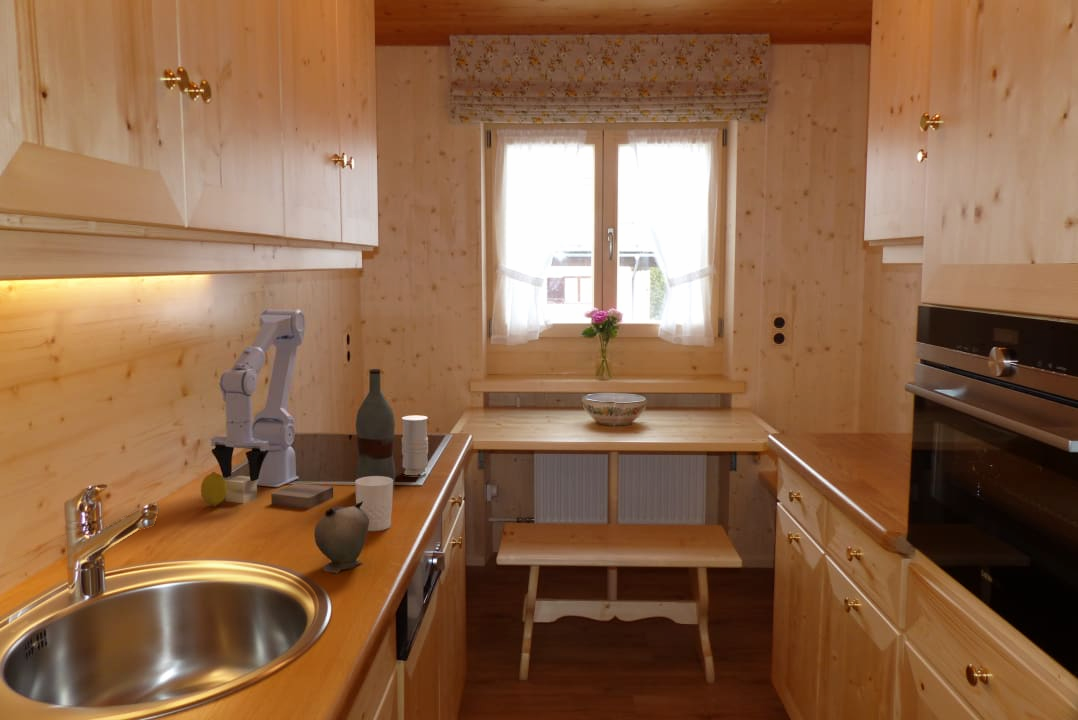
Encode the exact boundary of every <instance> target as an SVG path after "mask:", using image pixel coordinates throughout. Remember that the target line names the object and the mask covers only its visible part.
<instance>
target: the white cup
mask: <svg viewBox="0 0 1078 720" xmlns="http://www.w3.org/2000/svg"><path fill="white" fill-rule="evenodd" d="M354 486H355V487H354V488H355V490H354V491H355V503H356V504H355V505H357V503H361V502H362V501H363V503H362V505H361V506H360V509H361V510H362V511H363V512H364V513H365V514H366V515H367V517H368V518H369V519H370V520H369V526H368V531H367V532H380V531H384V530H387V529H389V528H390V527H391V525H392V512H393V494H394V493H393V492H394V488H393V479H391V478H389V477H384V476H369V477H363V478H359V479H357V478H356V480H355V481H354Z"/></svg>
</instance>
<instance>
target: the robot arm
mask: <svg viewBox="0 0 1078 720" xmlns="http://www.w3.org/2000/svg"><path fill="white" fill-rule="evenodd" d="M305 318H306V317H305V315H304V313H303V311H302V310H301V309H273V308H272V309H271V308H265V309H263V311H262V312H261V314H260V316H259V329H258V332H257V334H256V336H255V337H254V340H253V342H252V344H251V345H250V346H247V347H245V348H243V350H242V351H241V353H240V355H239V356H238V358H237V359H236V361H235V363H234V364H233V365H232V367H231V369H229V368H228V369H226V370H225V371H224V372H222V374H221V377H220V378H219V379H220V380H219V381H220V382H219V389H220V391H221V394H222V400H223V402H225V429H226V430H225V433H226V434H225V435H226V436H213V437H211V438H210V441H211V443H210V444H211V445H210V446H211V447H214V448H212V449H211V453H212V455H213V456H214V457H215V459H216V461H217V463H218V465H219V468H220V471H221V476H223V477H224V479H226V478H230V477H231V476H232V472H233V469H232V467H233V466H232V465H233V464H232V461H233V453H234V449H236V448H237V449H246V450H247V449H248V450H249V451H245V455H246V459H247V463H248V469H249V477H250V480H251V481H255V480H257V486H264V487H270V488H279V487H281V486H284V485H286V484H288V483H291V482H293V481H297V480H298V479H300V477H299V476H298V475H297V467H296V465H297V463H296V462H297V461H296V452H295V450H294V448H293V447H292V446H291V445H293V442H294V440H295V436H296V431H295V425H296V420H295V419H294V417H293V416H292V415H291V414H290V413H289V412H288V411H287V407H288V401H289V396H290V391H291V385H292V379H293V376H294V369H295V364H296V360H297V358H296V357H297V353H298V347H299V346H302V344H303V342H304V341H303V340H304V336H305V331H306V326H307V323H306V322H307V321H306V319H305ZM272 345H273V346H275V349H276V350H275V355H274V360H273V366H272V370H271V371H272V372H271V376H270V381H269V386H268V390H267V391H268V392H267V396H266V397H267V398H266V402H265V406H264V408H263V409H261V410H260V411H258V412H257V413H256V414H255V415H254V417H253V405H252V404H253V403H252V402H253V401H252V400H253V399H252V394H254V392H255V391H256V388H257V382H258V379H259V373H260V372H261V369H262V368H263V367H264V365H265V363H266V361H267V357H266V355H265V354H266V352H268V350H269V349H270V348H271V346H272Z"/></svg>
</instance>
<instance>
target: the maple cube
mask: <svg viewBox="0 0 1078 720" xmlns="http://www.w3.org/2000/svg"><path fill="white" fill-rule="evenodd" d="M257 480H258V479H257ZM257 480H255V481H251V480H250V475H249V476H246V475H235V476H233V477H231V478H228V479H225V481H226V484H227V494H226V497H225V502H228V503H229V502H230V503H238V504H246V503H248V502H250V501H253V500H255V499H257V498H258V485H257Z"/></svg>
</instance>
